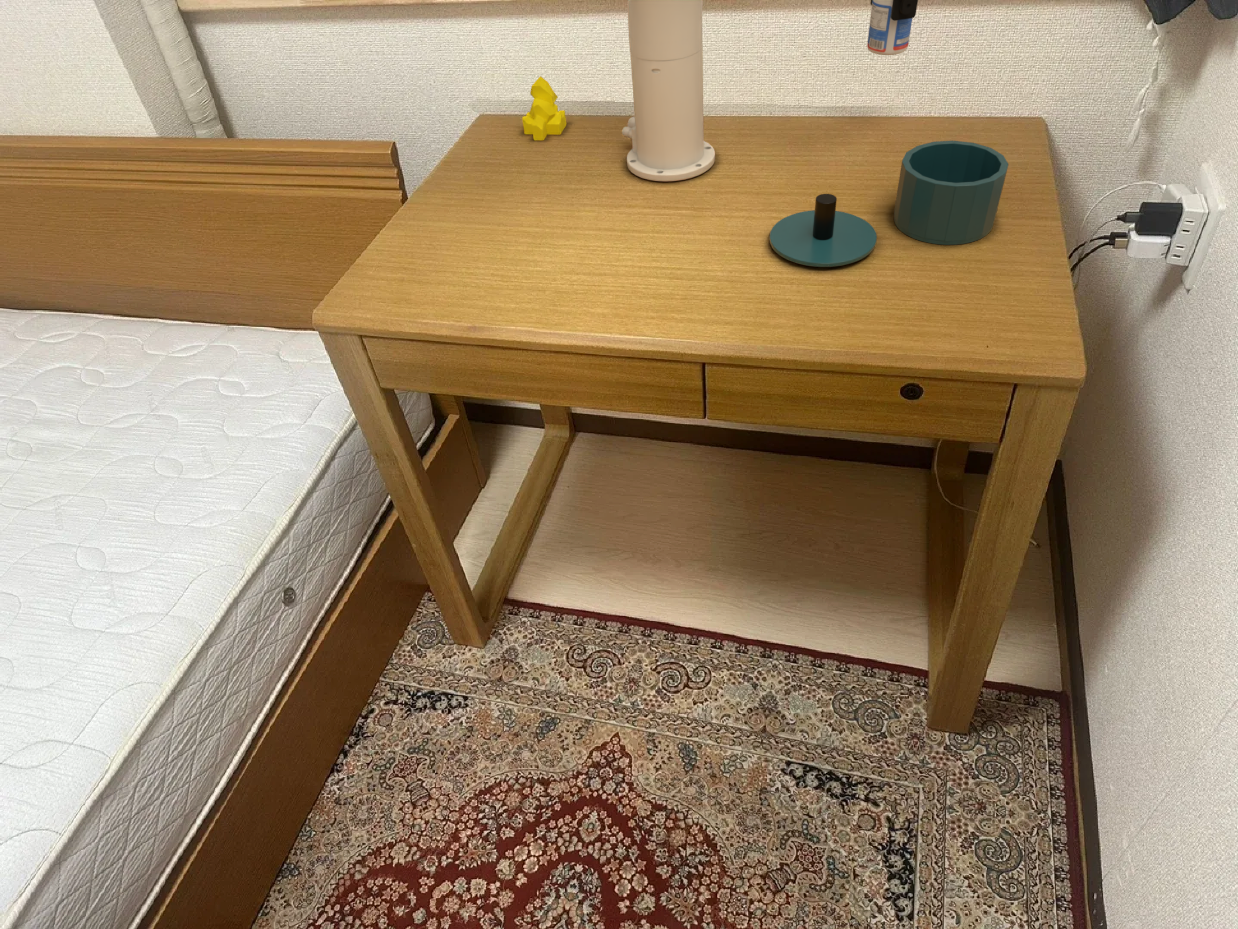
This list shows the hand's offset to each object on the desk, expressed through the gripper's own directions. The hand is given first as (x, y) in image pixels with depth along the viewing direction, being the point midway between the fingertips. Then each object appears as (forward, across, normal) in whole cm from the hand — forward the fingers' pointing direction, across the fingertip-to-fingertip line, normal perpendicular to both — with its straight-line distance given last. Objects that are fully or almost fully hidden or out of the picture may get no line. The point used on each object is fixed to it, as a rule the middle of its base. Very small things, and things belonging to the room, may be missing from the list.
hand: (892, 9), depth 113 cm
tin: (+16, +26, -3) cm, 31 cm away
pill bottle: (+5, 0, 0) cm, 5 cm away
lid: (+16, +26, -19) cm, 36 cm away
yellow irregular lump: (+18, -20, -46) cm, 53 cm away
